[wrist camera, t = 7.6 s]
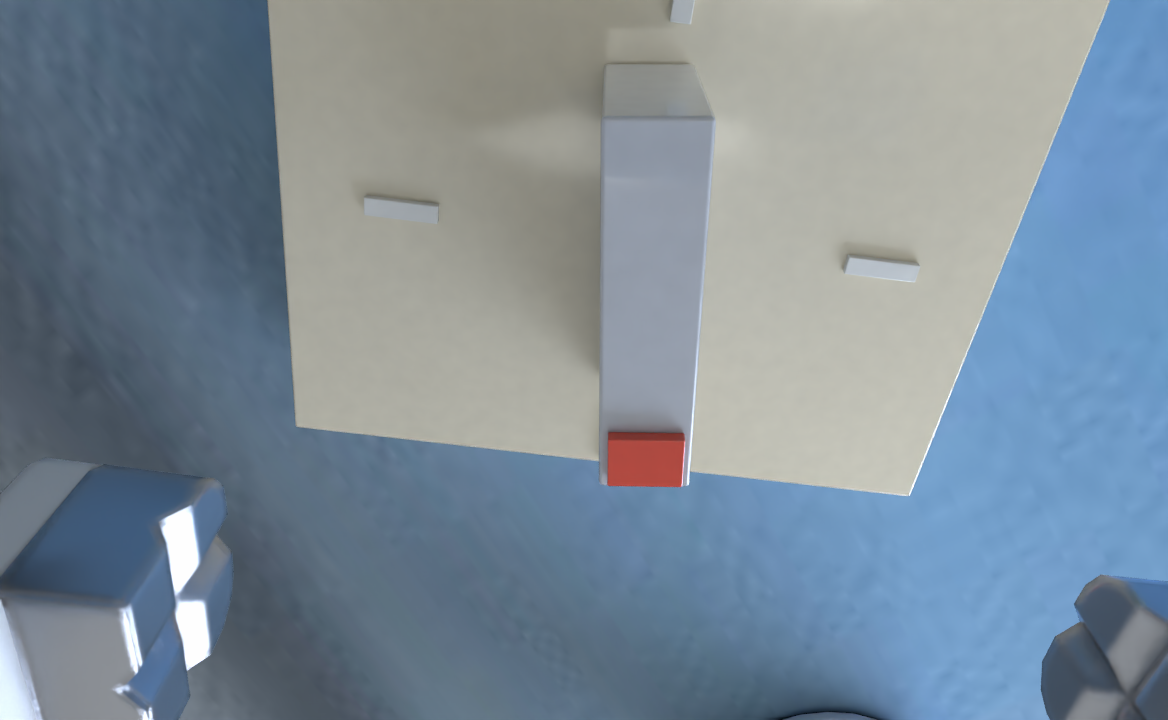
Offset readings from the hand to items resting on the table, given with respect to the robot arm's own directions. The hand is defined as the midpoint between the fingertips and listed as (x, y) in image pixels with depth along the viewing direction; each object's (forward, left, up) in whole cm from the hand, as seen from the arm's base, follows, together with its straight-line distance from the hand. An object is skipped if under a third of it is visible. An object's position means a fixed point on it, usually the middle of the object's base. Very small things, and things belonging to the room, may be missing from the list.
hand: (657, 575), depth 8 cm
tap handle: (0, 0, -9) cm, 9 cm away
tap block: (0, 0, -13) cm, 13 cm away
